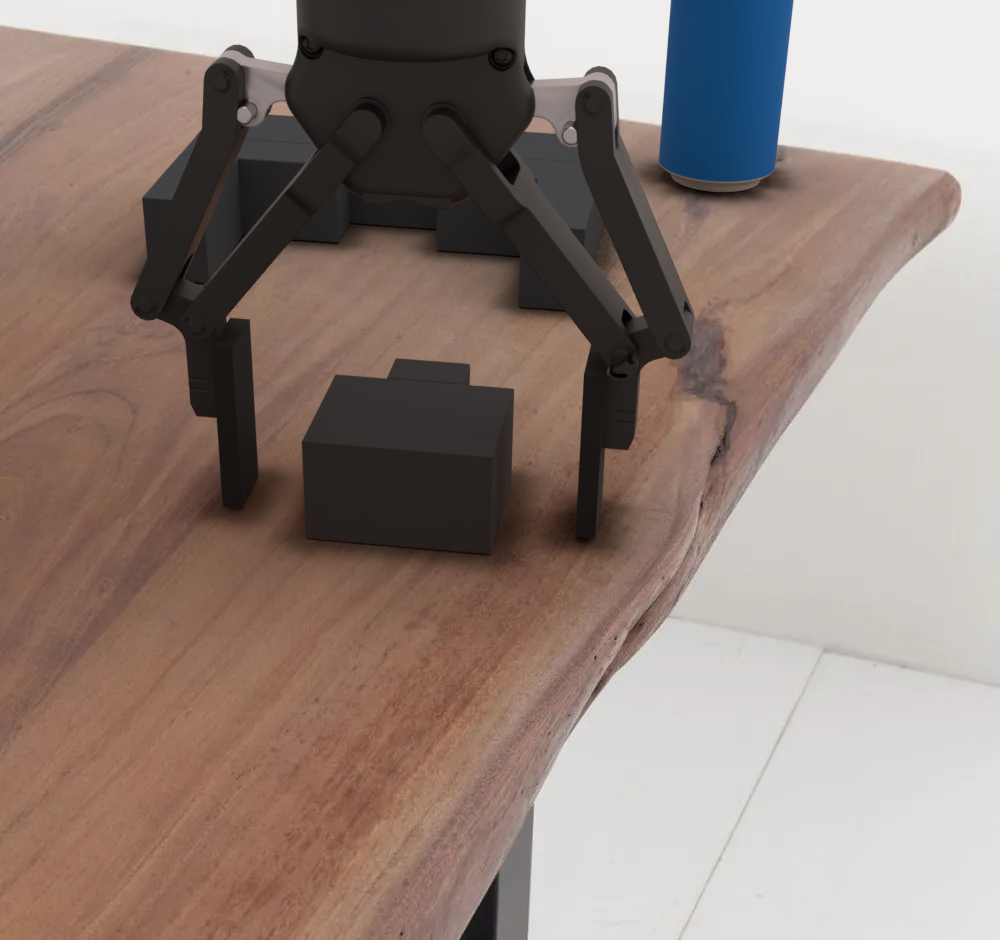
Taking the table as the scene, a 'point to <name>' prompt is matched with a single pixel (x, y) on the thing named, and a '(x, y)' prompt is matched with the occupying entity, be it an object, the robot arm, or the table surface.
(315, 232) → the pad base
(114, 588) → the table surface
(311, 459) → the black block
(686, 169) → the beverage can
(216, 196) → the robot arm
